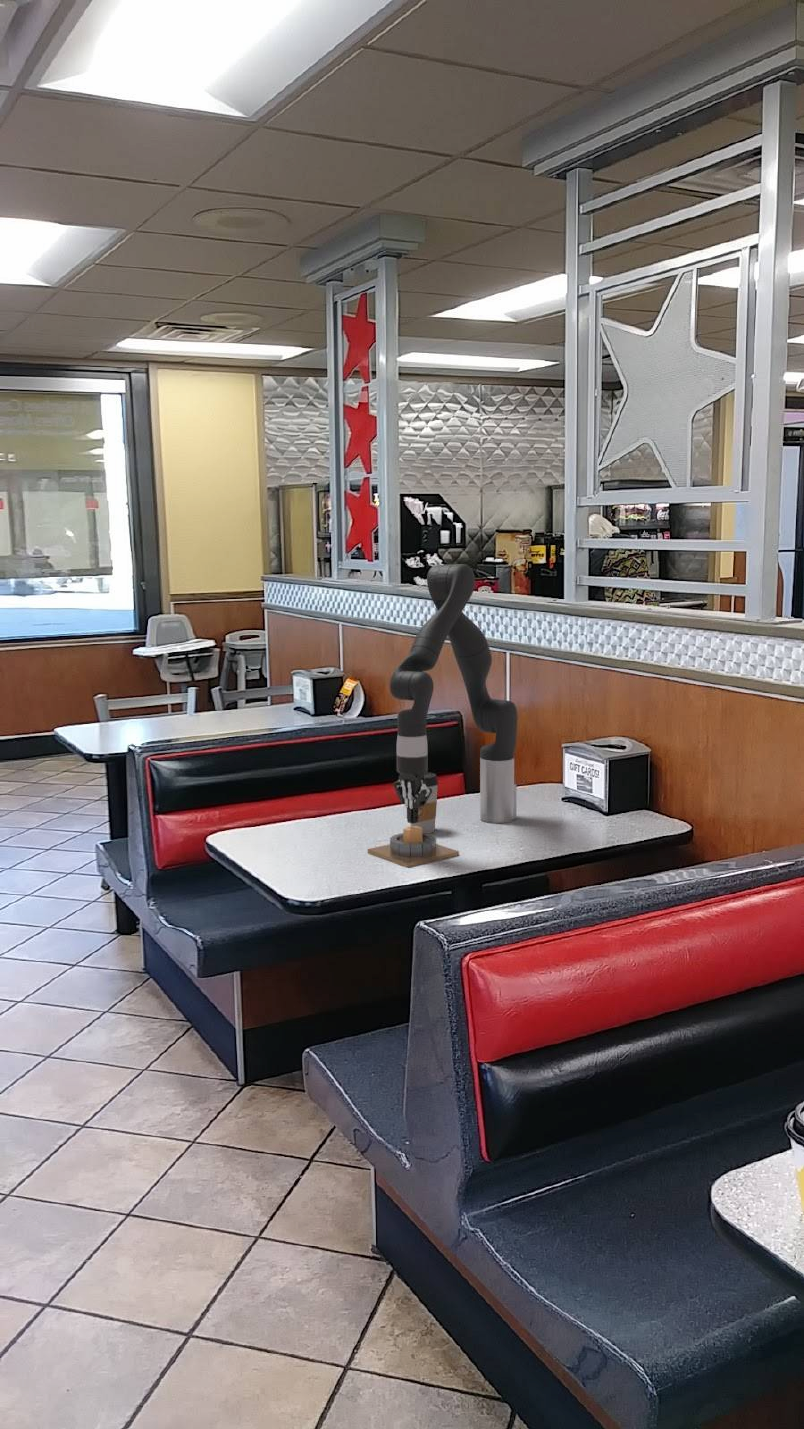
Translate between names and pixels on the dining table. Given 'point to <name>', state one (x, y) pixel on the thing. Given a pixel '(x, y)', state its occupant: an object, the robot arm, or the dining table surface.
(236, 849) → the dining table surface
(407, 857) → the board with grey ring
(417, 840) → the cap
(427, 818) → the coffee cup
